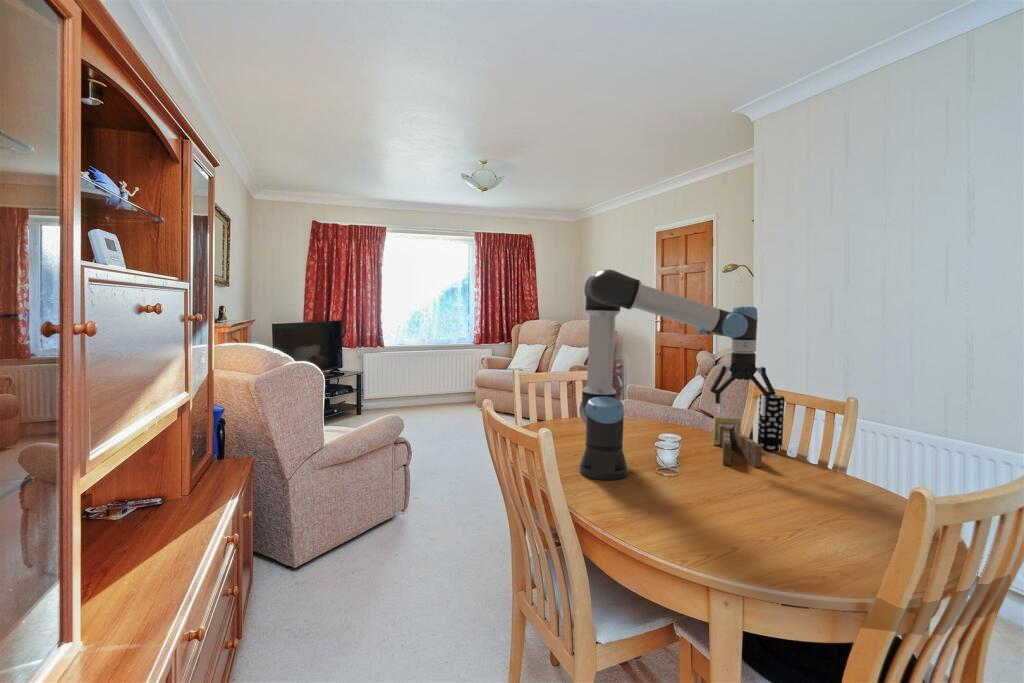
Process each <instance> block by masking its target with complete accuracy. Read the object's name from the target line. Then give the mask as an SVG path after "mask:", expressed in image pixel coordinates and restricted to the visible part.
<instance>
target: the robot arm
mask: <svg viewBox="0 0 1024 683" xmlns="http://www.w3.org/2000/svg"><path fill="white" fill-rule="evenodd" d="M583 292H584V295H585V312H586V313H587V314H588V315H589V321H588V322H589V324H588V326H589V328H588V348H587V349H588V351H587V352H588V354H587V377H586V386H584V387H583V388H582V390H581V402H580V406H579V415H580V418H581V420H582V422H583V423H584V425H585V448H584V451H583V454H582V457H581V460H580V462H579V473H580V474H581V475H583V476H584V477H587V478H591V479H594V480H601V481H615V480H621V479H625V478H626V477H627V476H628V475H629V466H628V463H627V460H626V457H625V454H624V450H623V448H624V446H623V445H624V416H625V409H624V403H623V402H622V401H621V400H620V399H617V391H616V389H615V388H614V386H613V379H614V378H613V373H614V351H615V331H616V330H615V329H616V316H617V315H618V314H620V313H621V308H624V309H626V310H632V309H637V310H640V311H644V312H647V313H650V314H653V315H657V316H659V317H663V318H666V319H669V320H672V321H676V322H679V323H683V324H686V325H689V326H692V327H695V329H696V332H697V333H698V334H700V335H706V336H708V335H714V336H716V335H717V336H719V337H720V336H722V337H726V338H730V339H731V351H732V352H731V356H730V358H731V359H730V365H729V366H725V365H723V364H722V365H720V369H719V370H720V371H719V373H718V375H717V376H716V378H715V379H714V381H713V383H712V384H711V387H710V389H709V391H710V392H711V393H713V394H715V395H714V396H715V401H714V402H715V404H716V405H717V412H718V414H719V415H722V414H723V391H724V390H725V389H727V387H728V386H729V385H730V384H732V382H733V381H735V379H737V380H738V381H740V380H741V381H742V380H745V381H749V380H750V381H752V382H753V384H755V387H757V388H758V389H759V391H760V392H761V393H762V394H764V396H763V395H762V394H760V395H761V413H760V414H761V415H762V416H765V406H768V405H769V397H770V396H771V395H776V392H775V388H774V387H773V385H772V382H771V381H770V379H769V377H768V375H767V370H766V369H767V368H766V367H764V366H759V367H757V366H756V361H757V360H756V359H757V356H756V355H757V354H756V353H755V352H756V351H757V333H758V332H757V331H758V321H759V320H758V309H757V307H755V306H734V307H733V308H732V309H733V310H732V312H731V311H727V310H724V309H721V308H718V307H714V306H711V305H709V304H706V303H702V302H699V301H695V300H692V299H690V298H686V297H682V296H680V295H676V294H673V293H671V292H667V291H663V290H661V289H658V288H654V287H651V286H648V285H645V284H643V283H642V281H641V280H640V279H637V278H634V277H630V276H629V275H626V274H623V273H621V272H619V271H616V270H613V269H602V270H599V271H597V272H594V273H593V274H591V275H590V276H589V277H588V278H587V280H586V282H585V284H584V291H583ZM728 371H730V373H731V374H730V375H729V376H728V377H727V379H726V380H725V381H723V383H721V381H722V380H723V378H724V376H725V374H726V373H728ZM756 372H758V373H759V374H760V376H761V378H762V380H763V383H764V385H765V386H766V388H767V390H768V391H767V390H766V388H765V387H764V386H763V385H762V383H761V382H760V381H759V380H758V379H757V378H756V376H755V374H756ZM720 384H721V385H720Z"/></svg>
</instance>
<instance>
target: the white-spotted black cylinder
mask: <svg viewBox="0 0 1024 683" xmlns="http://www.w3.org/2000/svg"><path fill="white" fill-rule="evenodd" d="M761 395H763V396H764V394H763V393H762V394H759V400H758V401H759V403H758V422H757V424H758V425H757V442H756V443H758V444H759V445H761V446H762V452H769V453H780V452H783V451H782V450H783V449H782V450H781V446H782V447H783V438H784V437H783V435H784V433H783V432H784V415H785V413H784V412H785V399H786V398H785V396H783V395H778V394H775V395H771V396H770V397H769V405H768V406H765V416H762V415H761V414H760V413H761ZM779 447H780V451H779Z"/></svg>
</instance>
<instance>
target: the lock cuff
mask: <svg viewBox="0 0 1024 683" xmlns="http://www.w3.org/2000/svg"><path fill="white" fill-rule="evenodd" d="M719 425H731V426H734V428H735V431H738V432H740V433H741V427H742V418H741V417H737V416H721V415H720V416H719V415H714V416H713V427H712V428H713V429H712V430H713V431H712V444H713V446H719V443H718V434H719Z"/></svg>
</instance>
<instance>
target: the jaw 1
mask: <svg viewBox="0 0 1024 683" xmlns="http://www.w3.org/2000/svg"><path fill="white" fill-rule="evenodd" d="M731 451H732V450H731V442H730V433H729V431H726V430H724V431H723V448H722V465H727V466H730V465H731Z"/></svg>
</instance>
